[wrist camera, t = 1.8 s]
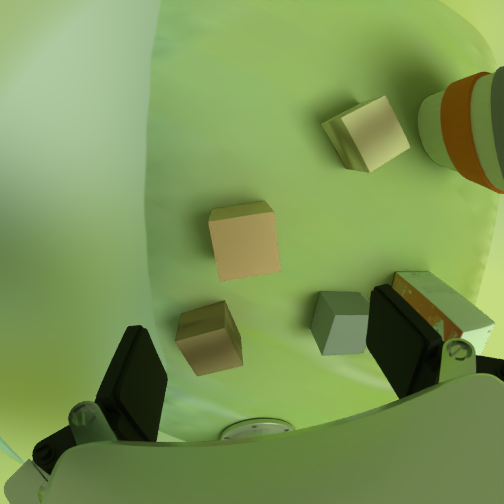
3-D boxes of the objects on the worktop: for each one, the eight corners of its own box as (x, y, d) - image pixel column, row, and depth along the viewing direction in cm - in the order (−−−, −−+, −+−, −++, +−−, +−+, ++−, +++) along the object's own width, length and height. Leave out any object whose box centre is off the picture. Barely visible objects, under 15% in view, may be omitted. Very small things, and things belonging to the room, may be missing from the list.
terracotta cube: (271, 250, 27) (280, 271, 22) (221, 258, 27) (219, 281, 22) (265, 200, 25) (273, 211, 20) (211, 209, 25) (208, 221, 20)
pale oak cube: (382, 146, 24) (410, 147, 19) (345, 168, 25) (370, 172, 20) (359, 103, 22) (385, 95, 18) (320, 124, 23) (341, 118, 18)
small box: (394, 270, 29) (464, 331, 17) (430, 271, 30) (497, 322, 17) (376, 328, 32) (427, 397, 19) (412, 324, 32) (464, 383, 20)
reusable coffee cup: (395, 75, 21) (499, 45, 7) (464, 87, 21) (552, 82, 7) (411, 185, 26) (520, 220, 12) (476, 178, 26) (563, 204, 12)
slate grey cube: (347, 328, 31) (363, 353, 26) (309, 328, 31) (322, 355, 26) (359, 292, 30) (378, 314, 25) (319, 290, 29) (335, 315, 24)
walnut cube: (240, 335, 30) (242, 365, 25) (200, 346, 30) (197, 376, 26) (224, 300, 28) (224, 327, 24) (181, 313, 28) (174, 341, 24)
